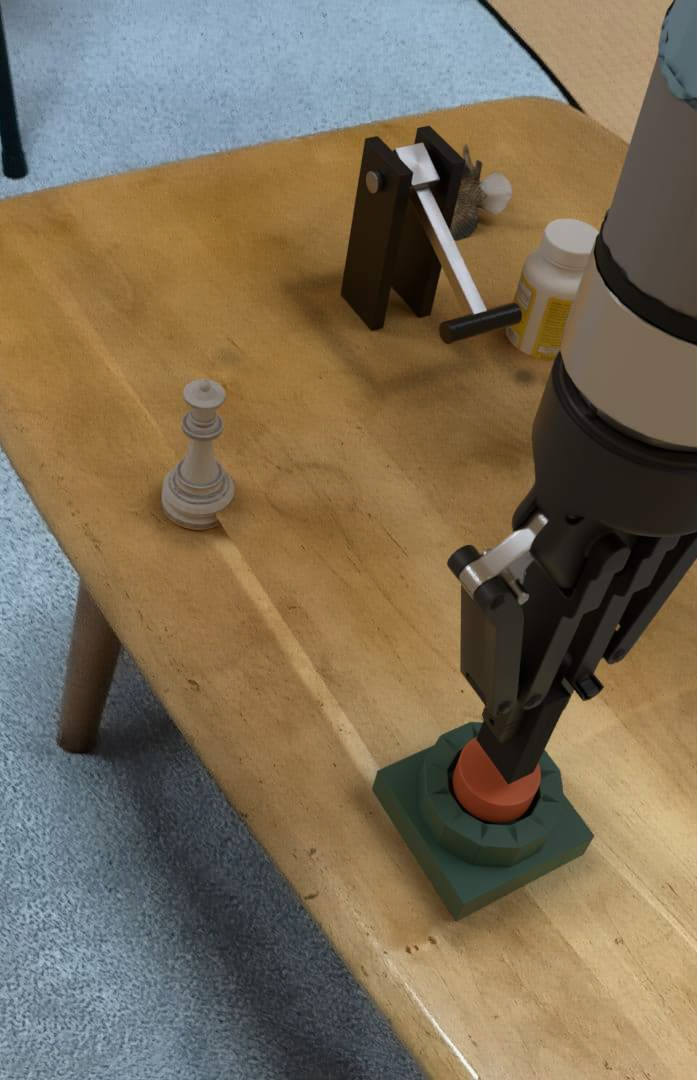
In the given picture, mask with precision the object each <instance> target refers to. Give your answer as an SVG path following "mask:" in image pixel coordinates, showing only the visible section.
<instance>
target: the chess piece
mask: <svg viewBox="0 0 697 1080" xmlns="http://www.w3.org/2000/svg"><path fill="white" fill-rule="evenodd" d="M226 398H227V397H226V391H225V389H224V387H223V385H221V384H220V383H218V382H217V381H215V380H212V379H206V378H200V379H195V380H191V381H190V382H188V383H187V384H186V385H185V387H184V388H183V391H182V399H183V400H184V402H185V404H187V406H189V407H190V410H189V411H188V412H186V413H185V414H184V415H183V417H182V419H181V431H182V433H183V434H184V435H185V437H187V438H189V446H188V449H187V453H186V456H184V457H182V459H180V460H179V461H178V463H177V464H176V466H175V467H173V468H172V469H171V470H169V471H168V473H167V474H166V475H165V477H164V479H163V482H162V490H161V507H162V510H163V513H164V514H165V516H166V517H167V518H168V520H170V521H171V522H173V523H174V524H175V525H177V526H180V527H182V528H185V529H190V530H197V531H200V530H201V531H203V530H208V529H213V528H215V527H218V526H221V525H222V523H221V521H220V520H219V518H218V517H217V514H216V513H219V512H221V511H223V510H224V509H226V508H227V507H228V506H229V505H230V503H231V502H232V501H233V499H234V496H235V484H234V481H233V479H232V477H231V475H229V473H228V472H227V471H226V470H225V469H224V468H223V465H222V464H221V463H220V461H219V460H218V459H217V458H216V457H215V452H214V440H217V438H219V437H220V436H221V435H222V434H223V431H224V420H223V418H222V416H221V415H220V414H219V413H217V412H216V410H217V409H219V408H220V407H221V406H222V405H223V404H224V403H225V402H226Z"/></svg>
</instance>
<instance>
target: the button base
mask: <svg viewBox="0 0 697 1080" xmlns="http://www.w3.org/2000/svg"><path fill="white" fill-rule="evenodd" d="M482 723H483V721H481V722H480V721H469V722H467V723H464V724H462V725H460V726H457V727H455V728H454V729H451V730H449V731H447V732H445V733H442V734H441V735H439V736H438V738H437V740H436V741H435V743H434V744H433V745H431V746H428V747H427V748H424V749H422V750H420V751H417V752H415V753H413V754H411V755H408V756H406V757H404V758H402V759H400V760H398V761H396V762H393V763H391V764H388V765H387V766H384V767H382V768H380V769H378V770H377V771H376V774H375V777H374V781H373V783H372V784H373V785H372V788H371V792H372V793H373V795H374V796H375V797H376V799H377V801H378V802H379V804H380V805H381V807H382V809H383V810H384V812H385V813H386V815H387V816H388V818H389V819H390V822H391V823H392V825H393V826H394V827H395V829H396V830H397V832H398V833H399V835H400V837H401V838H402V840H403V842H404V843H405V844H406V846H407V848H408V849H409V851H410V852H411V854H412V856H413V857H414V859H415V860H416V862H417V863H418V865H419V866H420V868H421V870H422V871H423V873H424V875H425V876H426V878H427V880H428V881H429V882H430V884H431V885H432V887H433V889H434V890H435V892H436V893H437V894H438V896H439V898H440V899H441V901H442V902H443V904H444V906H445V907H446V908H447V911H448V912H449V914H450V915H451V916H452V918H453V920H454V921H455V922H459V921H460V920H462V919H464V918H466V917H468V916H470V915H472V914H474V913H476V912H477V911H479V910H481V909H483V908H486V907H487V906H489V905H491V904H493V903H495V902H496V901H498V900H500V899H502V898H504V897H507V896H509V894H512V893H513V892H515V891H517V890H519V889H521V888H523V887H525V886H527V885H528V884H530V883H532V882H534V881H536V880H538V879H540V878H542V877H543V876H546V875H548V874H549V873H551V872H553V871H554V870H557V869H559V868H561V867H562V866H565V865H566V864H569V863H570V862H572V861H574V860H576V859H577V858H579V857H582V856H583V855H585V853H586V851H587V850H588V848H589V846H590V845H591V843H592V841H593V840H594V838H595V834H594V833H593V831H592V830H591V829H590V827H589V826H588V824H587V823H586V822H585V821H584V819H583V818H582V816H581V815H580V813H578V811H577V809H576V808H575V807H574V805H573V804H572V803H571V802H570V800H569V799H568V798H567V796H566V795H565V793H564V787H563V779H562V772H561V769H560V767H558V765H557V764H556V762H555V761H554V760H553V759H552V757H551V756H550V755H549V753H548V751H546V749H545V750H544V752H543V754H542V756H541V758H540V760H539V762H538V764H539V767H540V771H541V780H540V784H539V787H538V789H537V792H536V794H535V796H534V798H533V800H532V802H531V804H530V806H529V808H528V809H527V810H526V812H525V813H524V814H523V815H521V816H520V817H518V818H517V819H515V820H512V821H509V822H504V823H493V822H488V821H484V820H481V819H479V818H477V817H475V816H473V815H472V814H470V813H469V812H468V811H467V810H466V809H465V808H464V807H463V806H462V805H461V804H460V802H459V801H458V799H457V797H456V795H455V792H454V789H453V774H454V771H455V768H456V765H457V763H458V760H459V757H460V755H461V752H462V750H463V748H464V747H465V746H466V745H467V743H468V742H470V741H471V740H472V739H474V738H476V737H477V736H478V733H479V731H480V728H481V726H482Z"/></svg>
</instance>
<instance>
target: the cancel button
mask: <svg viewBox="0 0 697 1080" xmlns="http://www.w3.org/2000/svg"><path fill="white" fill-rule="evenodd" d="M476 738H477V737H476ZM476 738H474V739H472V740H471V741H470V742H468V743H467V745H466V746H465V747H464V748H463V750H462V752H461V755H460V757H459V760H458V763H457V765H456V768H455V771H454V774H453V789H454V792H455V795H456V797H457V799H458V801H459V802H460V804H461V805H462V806H463V807H464V808H465V809H466V810H467V811H468V812H469V813H470V814H472V815H473V816H475V817H477V818H479V819H481V820H484V821H488V822H493V823H504V822H509V821H512V820H515V819H517V818H518V817H520V816H521V815H523V814H524V813H525V812H526V810H527V809H528V808H529V806H530V804H531V802H532V800H533V798H534V796H535V794H536V792H537V789H538V787H539V784H540V780H541V771H540V767H539V764H537V766H536V768H535V770H534V772H533V773H531V774H529V775H527V776H525V777H523V778H521V779H519V780H517V781H515V782H513V783H511V784H509V785H508V784H507V782H506V781H505V779H504V778H503V777H502V775H501V774H500V772H499V771H498V770H497V768H496V767H495V765H494V764H493V763H492V761H491V760H490V758H489V757H488V756H487V754H486V753H485V751H484V750H483V748H482V747H481V746H480V744H479V743H478V741H477V740H476Z"/></svg>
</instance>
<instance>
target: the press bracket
mask: <svg viewBox="0 0 697 1080" xmlns="http://www.w3.org/2000/svg"><path fill="white" fill-rule="evenodd" d="M418 143H423V144H424V146H425V148H426V150H427V152H428V154H429V156H430V158H431V160H432V163H433V165H434V167H435V169H436V171H437V173H438V175H439V177H440V181H439V182H438V183H437V185H436V186H435V188H434V189H433V190H432V194H433V196H434V198H435V201H436V203H437V205H438V207H439V209H440V211H441V213H442V215H443V217H444V220H445V222H446V224H447V226H448V228H449V230H450V229H451V224H452V220H453V216H454V211H455V207H456V203H457V198H458V194H459V189H460V185H461V181H462V176H463V172H464V168H465V163H466V161H465V160H464V158H463V156H461V155H460V154H459V153H458V152H457V151H456V150H455V149H454V148H453V147H452V146H451V145H450V144H449V143H448V141H446V140H445V139H444V138H443V137H442V136H441V135H440V134H439V133H438V132H437V131H436V130H435V129H434V128H433V127H431V125H423V126H420V127H416V131H415V137H414V143H413V144H418ZM412 178H413V171H412V170H411V169H410V168H409V167H408V166H407V165H406V164H405V163H404V162H403V161H402V160H401V159H400V158H399V157H398V156H397V155H396V154H395V153H394V152H393V149H392V148H390V146H388V145H387V143H385V142H384V140H382V138H381V137H380V136H379V135H375V136H370V137H365V139H364V142H363V150H362V156H361V162H360V168H359V174H358V180H357V188H356V193H355V200H354V206H353V211H352V218H351V224H350V231H349V237H348V238H349V239H348V243H347V251H346V257H345V263H344V270H343V276H342V281H341V288H340V296H341V297H342V298H343V299H344V301H345V302H346V303H347V304H348V306H349V307H350V308H351V309H352V310H353V312H355V314H356V315H357V316H358V318H359V319H360V320H361V321H362V323H364V324H365V326H366V327H367V328H368V329H369V331H371V332H375V331H378V330H382V329H384V326H385V322H386V315H387V310H388V305H389V302H390V301H389V300H390V296H391V290H392V289H393V290H394V291H395V292H396V293H397V295H398V296H399V297H400V298H401V299H402V301H403V302H404V303H405V304H406V305H407V306H408V307H409V309H410V310H411V311H412V312H413V313H414V314H415V315H416V316H417V318H419V319H422V318H425V317H428V316H429V317H430V316H432V311H433V307H434V302H435V299H436V297H435V296H436V293H437V289H438V285H439V281H440V276H441V273H442V269H443V268H442V266H441V264H440V261H439V259H438V257H437V255H436V253H435V251H434V249H433V246H432V244H431V242H430V240H429V238H428V236H427V234H426V232H425V229H424V227H423V225H422V223H421V221H420V219H419V217H418V214H417V212H416V210H415V208H414V206H413V204H412V203H408V199H409V193H410V188H411V183H412Z"/></svg>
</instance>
